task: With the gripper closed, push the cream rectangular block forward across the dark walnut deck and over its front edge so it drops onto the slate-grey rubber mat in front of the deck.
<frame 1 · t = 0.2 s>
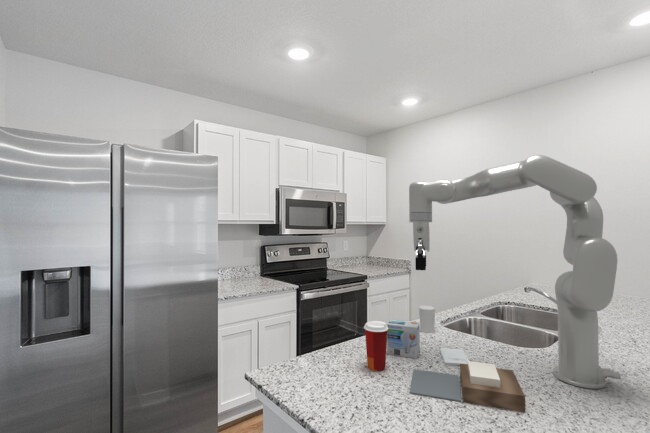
hand: (421, 268, 113), 31 cm above the worktop, tool pointing down, fingers open, 9 cm apart
mat: (435, 384, 94), on the worktop
deck: (489, 392, 90), on the worktop
grey tapered cup: (427, 331, 141), on the worktop
light bulb box: (403, 354, 117), on the worktop
external hard drive: (454, 360, 113), on the worktop
paper cup: (376, 368, 106), on the worktop
cream rectangular block: (483, 377, 90), point 4 cm above the worktop, touching deck
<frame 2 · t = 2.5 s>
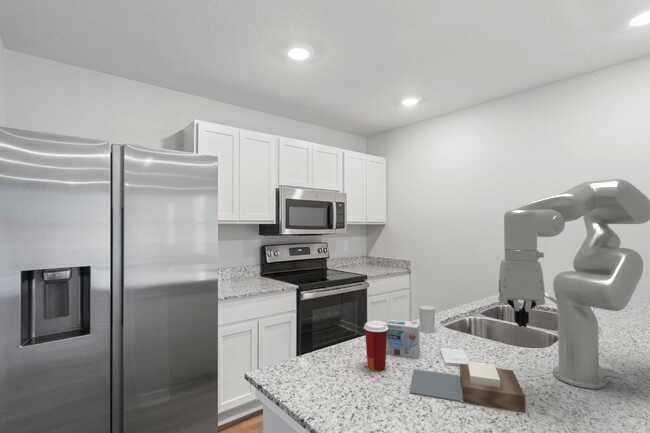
hand: (521, 325, 88), 19 cm above the worktop, tool pointing down, fingers closed
nothing on the worktop moved.
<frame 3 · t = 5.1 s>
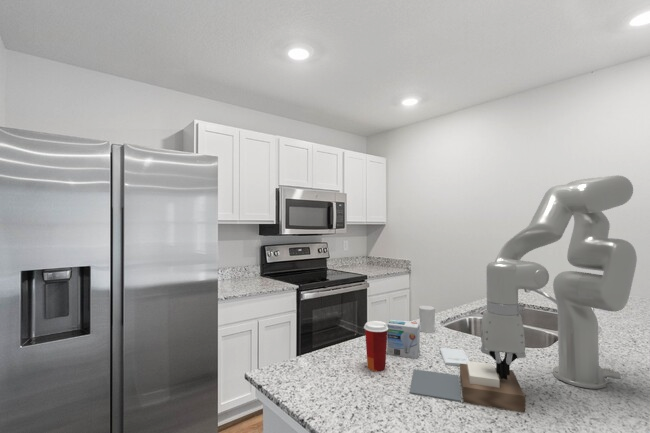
hand: (502, 376, 89), 5 cm above the worktop, tool pointing down, fingers closed
cream rectangular block: (482, 377, 90), point 4 cm above the worktop, touching deck, gripper
everything else where it was.
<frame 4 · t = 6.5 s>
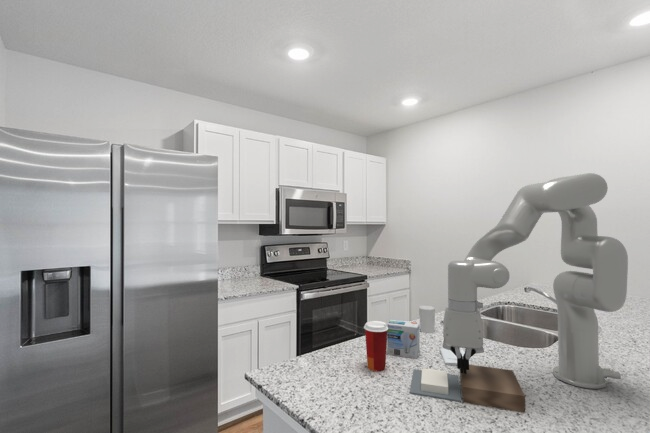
hand: (463, 371, 92), 5 cm above the worktop, tool pointing down, fingers closed
cream rectangular block: (434, 377, 94), point 2 cm above the worktop, tilted 180°, touching mat
everything else where it was.
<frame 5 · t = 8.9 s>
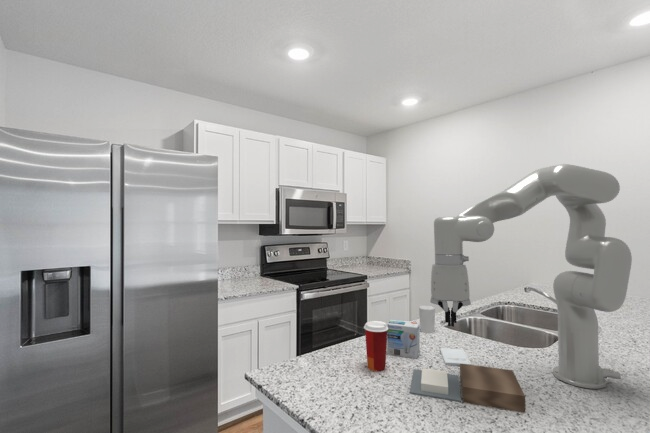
hand: (450, 324, 94), 17 cm above the worktop, tool pointing down, fingers closed
nothing on the worktop moved.
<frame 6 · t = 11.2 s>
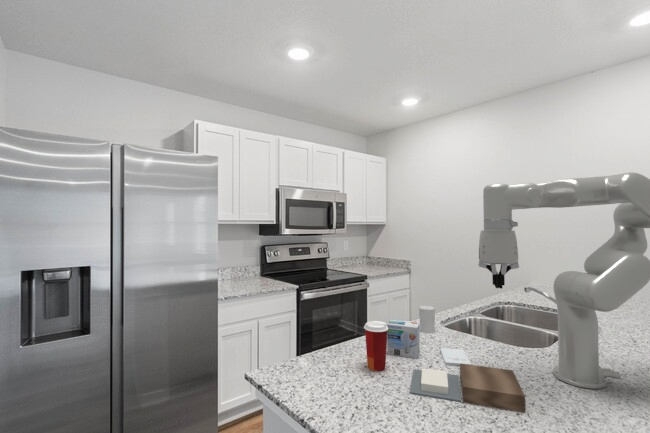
hand: (498, 287, 98), 27 cm above the worktop, tool pointing down, fingers closed
nothing on the worktop moved.
at the end: cream rectangular block inside the target area (0.6 cm from its centre), point 2.4 cm above the worktop; cream rectangular block touching mat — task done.
